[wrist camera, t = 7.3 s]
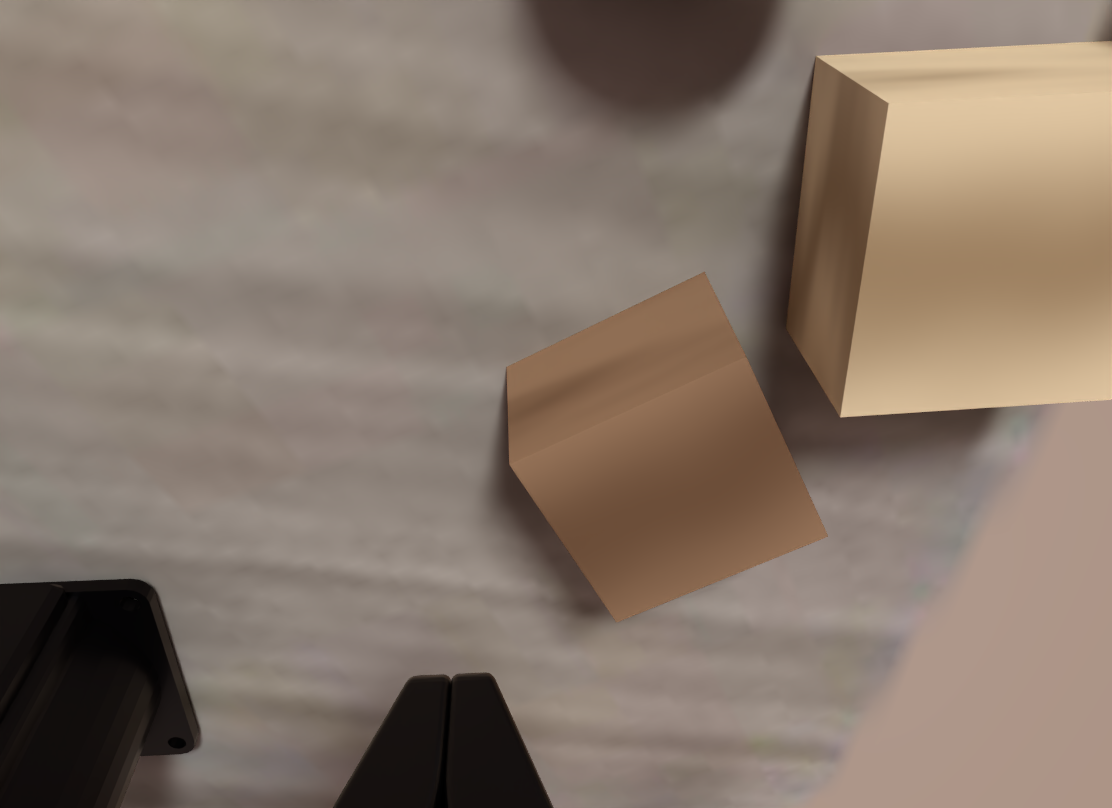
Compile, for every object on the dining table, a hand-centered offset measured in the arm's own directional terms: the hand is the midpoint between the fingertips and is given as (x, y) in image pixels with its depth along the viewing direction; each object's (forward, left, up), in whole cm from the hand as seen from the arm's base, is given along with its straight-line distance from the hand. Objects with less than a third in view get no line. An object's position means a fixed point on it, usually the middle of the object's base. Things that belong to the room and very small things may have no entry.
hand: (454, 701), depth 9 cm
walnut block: (-4, -4, -12) cm, 13 cm away
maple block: (+1, -10, -12) cm, 16 cm away
